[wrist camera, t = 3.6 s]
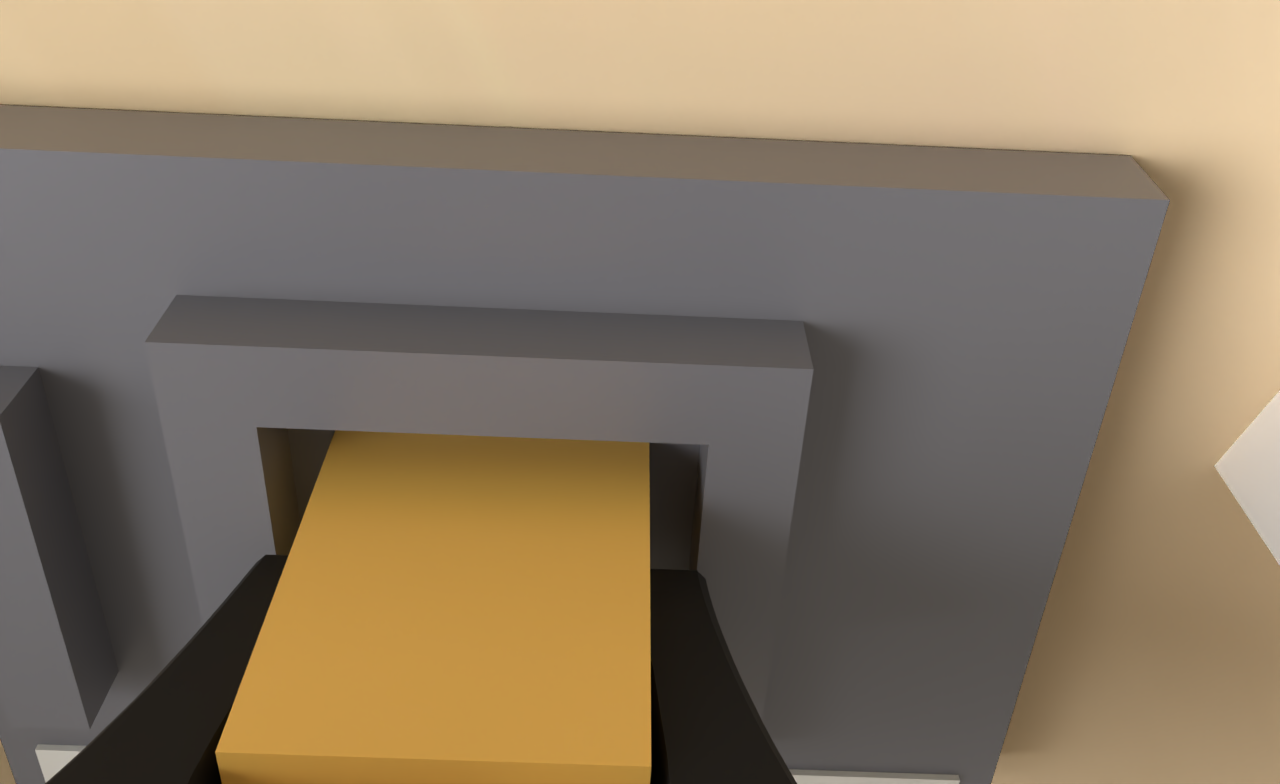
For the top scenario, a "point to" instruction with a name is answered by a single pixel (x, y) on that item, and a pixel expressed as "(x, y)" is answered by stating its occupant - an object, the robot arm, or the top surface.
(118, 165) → the grey socket base
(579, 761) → the block
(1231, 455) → the bracket
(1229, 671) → the top surface
